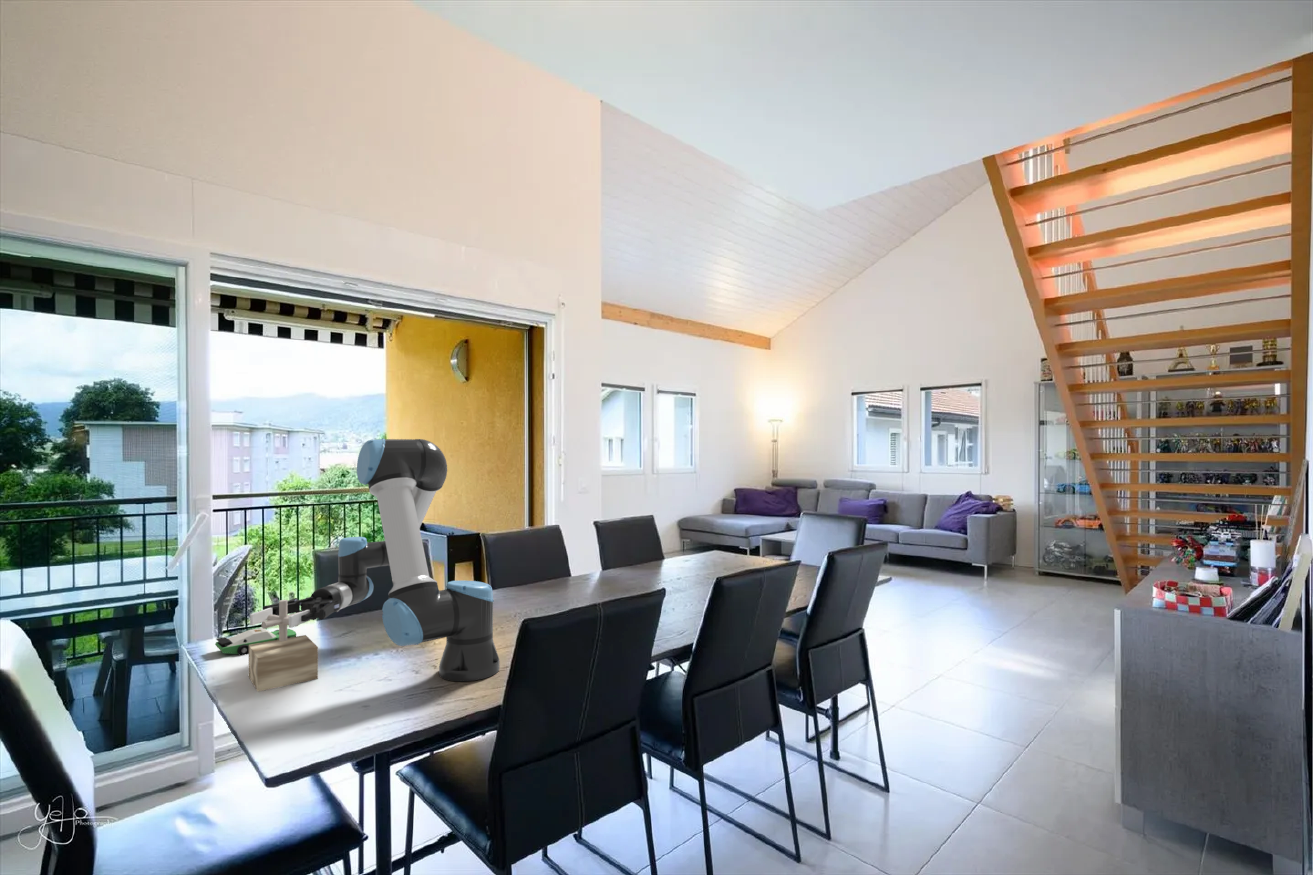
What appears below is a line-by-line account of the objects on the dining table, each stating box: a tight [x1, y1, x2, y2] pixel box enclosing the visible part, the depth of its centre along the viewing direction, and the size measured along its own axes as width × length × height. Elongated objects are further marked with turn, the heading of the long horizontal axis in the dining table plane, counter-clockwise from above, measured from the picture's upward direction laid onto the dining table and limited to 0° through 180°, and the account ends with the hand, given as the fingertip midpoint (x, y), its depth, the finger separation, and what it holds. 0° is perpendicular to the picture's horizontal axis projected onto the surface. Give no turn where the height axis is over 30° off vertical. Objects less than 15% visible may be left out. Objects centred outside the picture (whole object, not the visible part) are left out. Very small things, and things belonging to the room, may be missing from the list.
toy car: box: [214, 627, 297, 656], centre depth 187 cm, size 10×19×5 cm, turn 135°
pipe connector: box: [260, 599, 300, 641], centre depth 163 cm, size 10×10×10 cm
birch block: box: [248, 634, 319, 693], centre depth 163 cm, size 13×13×8 cm
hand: (270, 621), depth 159 cm, fingers closed on pipe connector, 10 cm apart
